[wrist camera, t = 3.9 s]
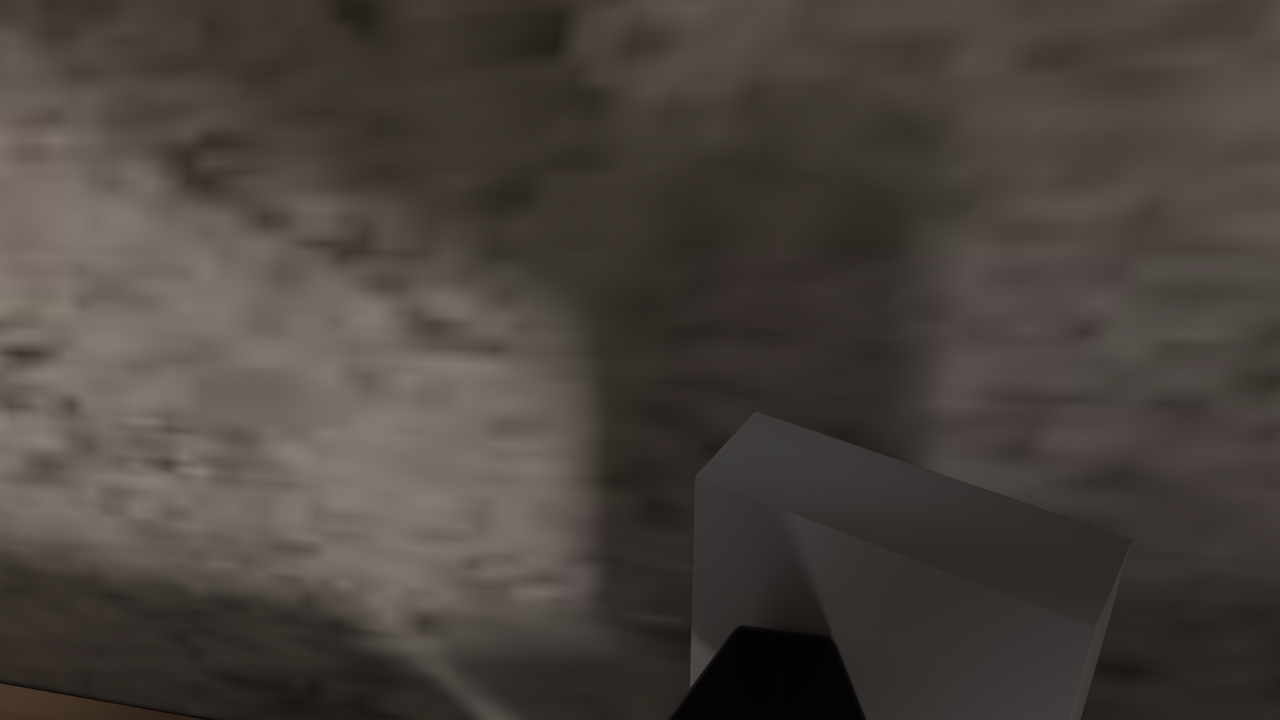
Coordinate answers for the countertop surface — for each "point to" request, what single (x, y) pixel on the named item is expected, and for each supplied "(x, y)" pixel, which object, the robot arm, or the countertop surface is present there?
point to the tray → (68, 707)
